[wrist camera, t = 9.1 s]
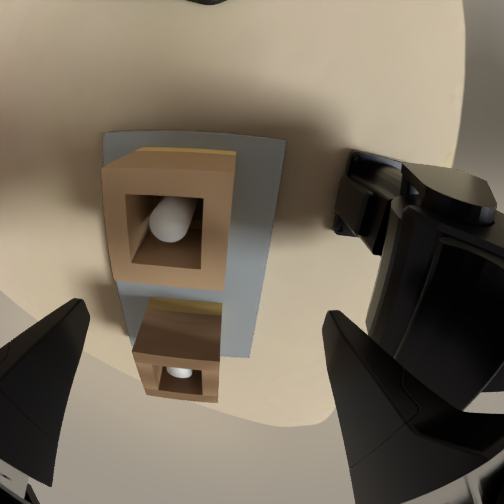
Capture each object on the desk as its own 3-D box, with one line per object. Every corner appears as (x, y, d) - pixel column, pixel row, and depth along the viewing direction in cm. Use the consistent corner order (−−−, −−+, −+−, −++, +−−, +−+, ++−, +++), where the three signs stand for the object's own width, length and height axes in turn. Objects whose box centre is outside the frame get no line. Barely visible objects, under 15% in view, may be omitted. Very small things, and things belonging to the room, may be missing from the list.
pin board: (110, 131, 16) (50, 150, 9) (283, 139, 17) (310, 158, 11) (134, 337, 25) (116, 394, 19) (248, 348, 27) (252, 409, 20)
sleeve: (219, 349, 25) (217, 403, 20) (158, 343, 24) (146, 394, 19) (222, 303, 22) (219, 361, 17) (151, 296, 21) (131, 351, 16)
